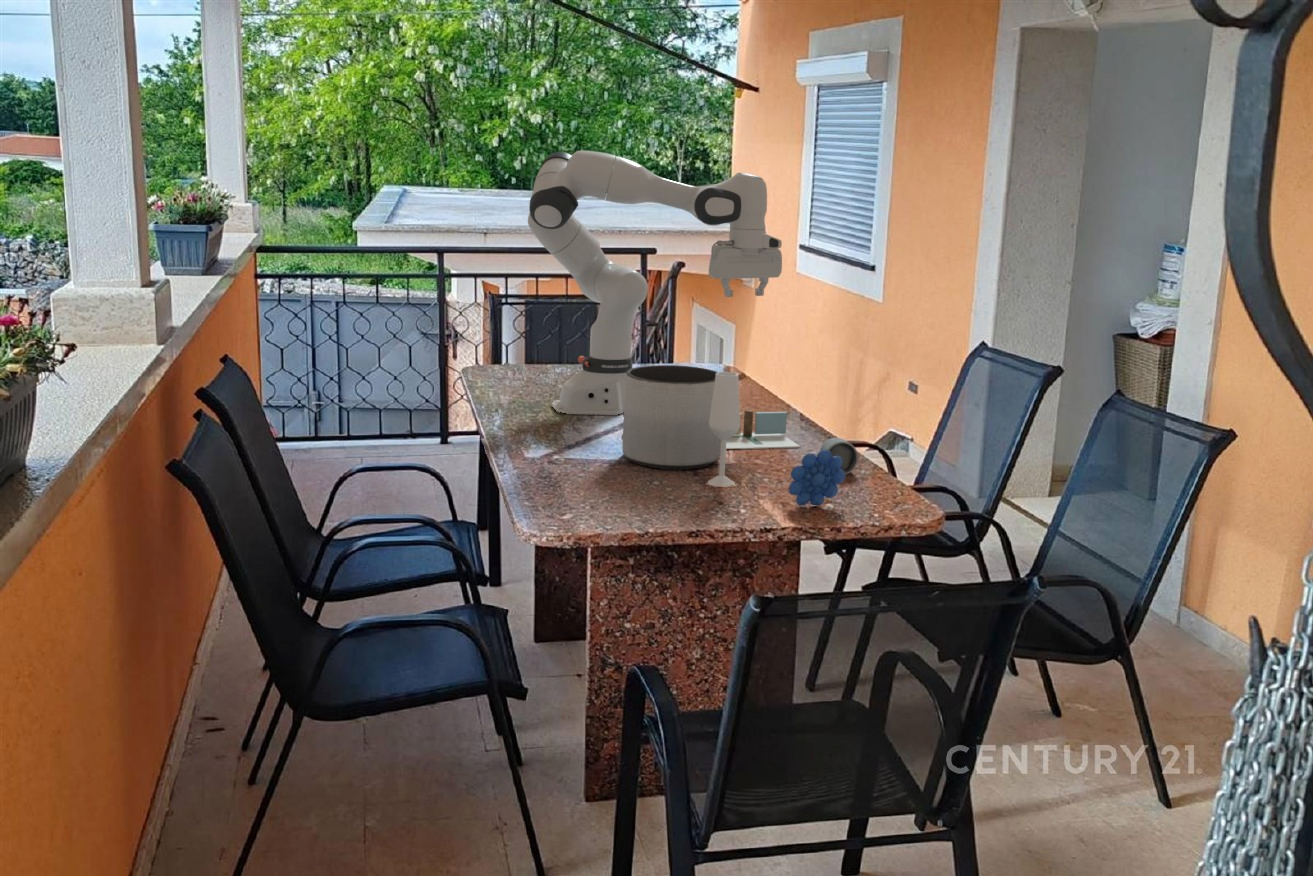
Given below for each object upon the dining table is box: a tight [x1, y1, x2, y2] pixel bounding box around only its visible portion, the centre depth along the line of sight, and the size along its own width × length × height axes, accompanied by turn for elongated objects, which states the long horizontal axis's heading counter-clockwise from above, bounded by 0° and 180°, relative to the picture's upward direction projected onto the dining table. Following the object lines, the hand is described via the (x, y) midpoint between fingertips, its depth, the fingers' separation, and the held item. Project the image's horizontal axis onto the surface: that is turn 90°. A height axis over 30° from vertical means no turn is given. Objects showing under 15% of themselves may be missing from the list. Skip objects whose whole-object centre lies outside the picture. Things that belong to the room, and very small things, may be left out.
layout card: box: [726, 432, 801, 450], centre depth 301 cm, size 21×15×1 cm
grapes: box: [788, 450, 846, 507], centre depth 248 cm, size 12×7×12 cm, turn 99°
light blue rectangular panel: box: [754, 411, 788, 435], centre depth 306 cm, size 8×1×5 cm, turn 105°
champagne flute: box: [707, 371, 741, 486], centre depth 260 cm, size 7×7×24 cm
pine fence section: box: [734, 409, 754, 437], centre depth 303 cm, size 13×2×7 cm, turn 105°
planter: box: [621, 364, 721, 470], centre depth 280 cm, size 23×23×20 cm
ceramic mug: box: [819, 437, 859, 476], centre depth 276 cm, size 11×8×8 cm
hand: (744, 296), depth 305 cm, fingers open, 8 cm apart
